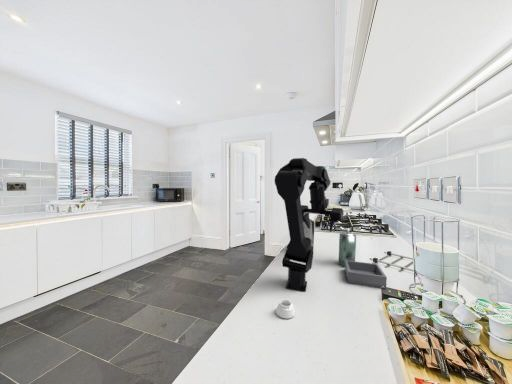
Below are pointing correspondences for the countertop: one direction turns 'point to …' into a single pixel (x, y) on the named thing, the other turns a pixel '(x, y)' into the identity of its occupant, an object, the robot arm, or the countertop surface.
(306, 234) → the coffee box
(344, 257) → the spout can
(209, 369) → the countertop surface
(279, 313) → the white jar
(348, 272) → the tray
